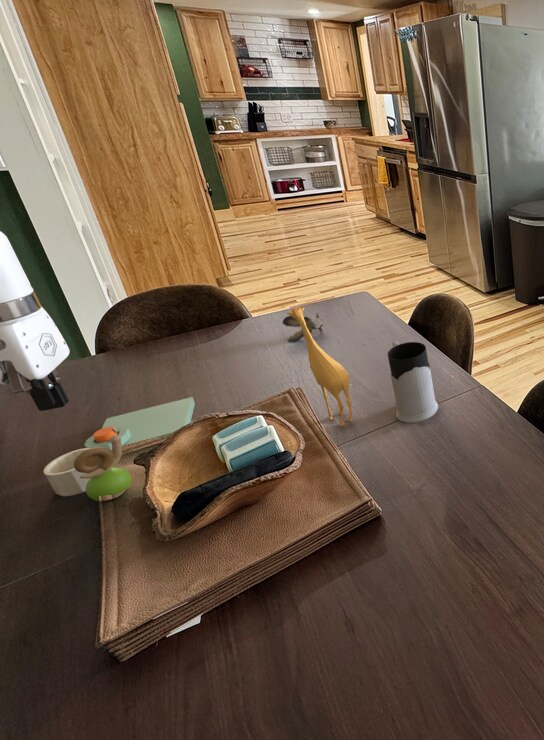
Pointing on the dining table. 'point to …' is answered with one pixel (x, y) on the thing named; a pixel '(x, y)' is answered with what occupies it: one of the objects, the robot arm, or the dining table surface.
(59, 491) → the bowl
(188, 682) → the dining table surface
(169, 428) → the scale
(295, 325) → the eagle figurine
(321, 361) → the giraffe
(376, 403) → the dining table surface
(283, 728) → the dining table surface
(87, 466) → the snail figurine
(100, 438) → the button
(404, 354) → the glass holder
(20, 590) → the dining table surface
